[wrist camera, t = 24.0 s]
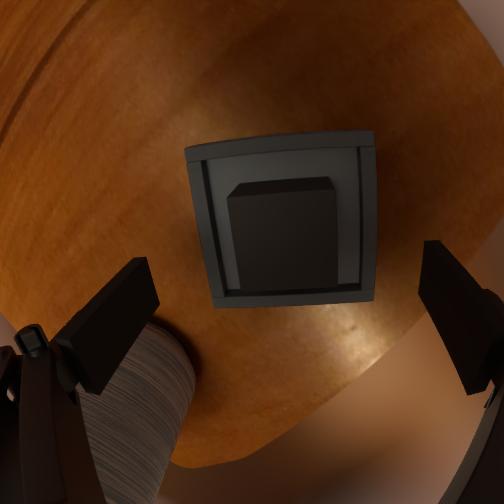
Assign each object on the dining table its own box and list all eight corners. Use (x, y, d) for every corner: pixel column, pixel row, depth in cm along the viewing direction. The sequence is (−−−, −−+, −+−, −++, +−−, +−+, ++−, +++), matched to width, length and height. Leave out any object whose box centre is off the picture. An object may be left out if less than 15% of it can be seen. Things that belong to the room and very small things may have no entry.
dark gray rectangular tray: (366, 129, 19) (374, 130, 17) (368, 286, 24) (373, 301, 22) (194, 145, 21) (183, 148, 19) (220, 293, 26) (214, 308, 24)
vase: (105, 286, 27) (-51, 474, 7) (217, 336, 28) (126, 588, 7) (100, 362, 32) (3, 513, 11) (189, 403, 33) (124, 579, 12)
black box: (328, 175, 20) (335, 188, 16) (332, 259, 22) (338, 287, 18) (238, 183, 21) (225, 197, 17) (249, 264, 23) (240, 292, 19)
